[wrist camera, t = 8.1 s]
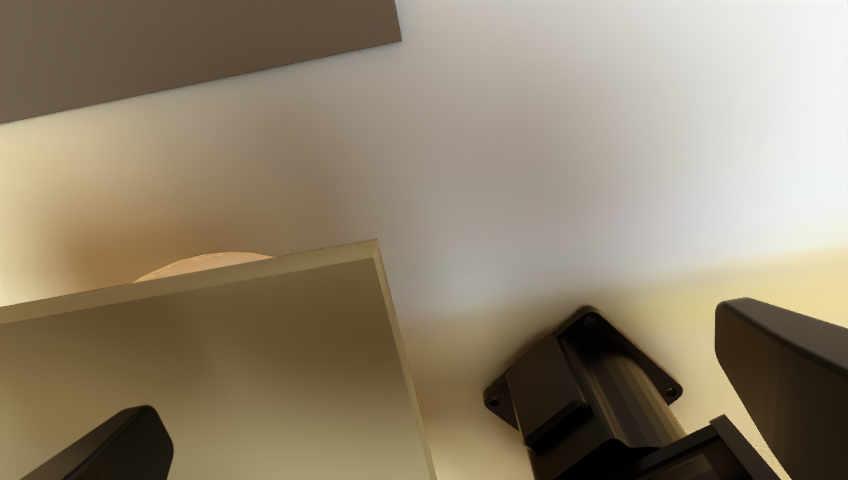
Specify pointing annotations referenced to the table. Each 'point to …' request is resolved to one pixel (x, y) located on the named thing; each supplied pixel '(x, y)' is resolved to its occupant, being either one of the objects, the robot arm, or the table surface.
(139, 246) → the table surface
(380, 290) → the lid
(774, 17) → the table surface
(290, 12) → the mat
